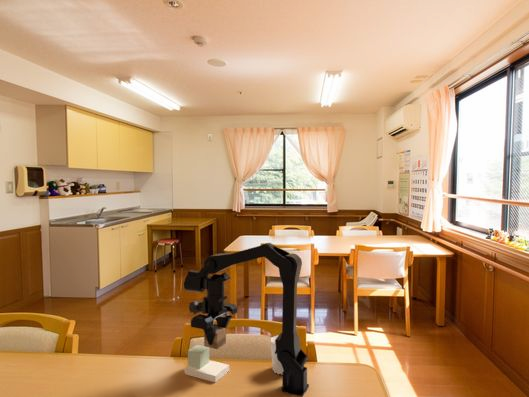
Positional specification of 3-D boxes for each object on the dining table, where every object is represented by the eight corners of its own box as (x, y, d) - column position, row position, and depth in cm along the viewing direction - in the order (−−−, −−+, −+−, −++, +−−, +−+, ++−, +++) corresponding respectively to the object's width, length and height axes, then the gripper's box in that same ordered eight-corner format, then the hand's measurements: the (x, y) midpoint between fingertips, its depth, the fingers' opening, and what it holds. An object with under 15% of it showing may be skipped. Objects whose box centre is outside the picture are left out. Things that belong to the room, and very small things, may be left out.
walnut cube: (225, 343, 108) (225, 328, 108) (217, 349, 103) (217, 333, 103) (213, 340, 110) (213, 325, 110) (204, 346, 105) (204, 330, 105)
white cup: (294, 365, 113) (294, 335, 113) (294, 376, 105) (294, 345, 105) (271, 364, 113) (271, 334, 114) (269, 375, 106) (269, 344, 106)
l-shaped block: (229, 371, 108) (229, 349, 109) (215, 382, 101) (215, 359, 101) (199, 363, 114) (200, 343, 114) (184, 373, 106) (184, 352, 107)
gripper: (211, 284, 119) (211, 328, 118) (176, 297, 102) (176, 348, 102) (238, 288, 114) (238, 333, 113) (206, 301, 97) (205, 355, 97)
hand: (215, 341), depth 106 cm, fingers closed on walnut cube, 5 cm apart
